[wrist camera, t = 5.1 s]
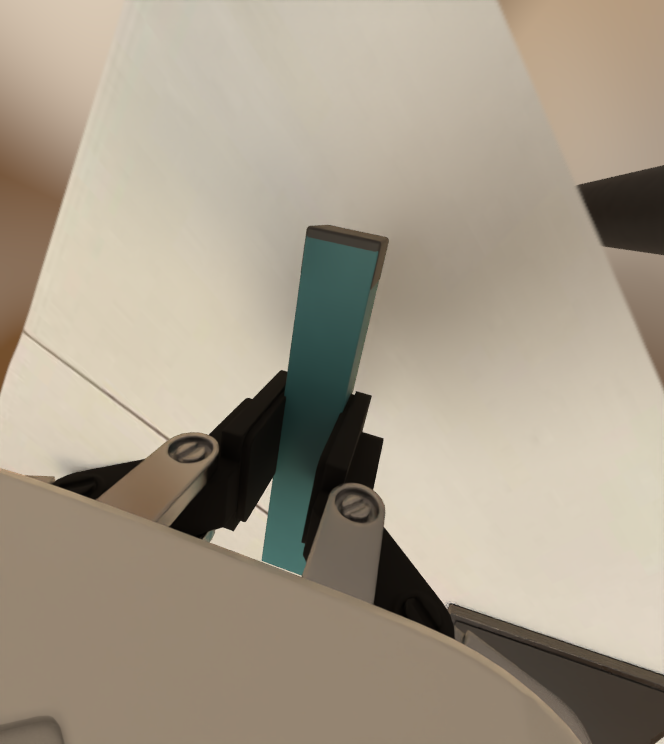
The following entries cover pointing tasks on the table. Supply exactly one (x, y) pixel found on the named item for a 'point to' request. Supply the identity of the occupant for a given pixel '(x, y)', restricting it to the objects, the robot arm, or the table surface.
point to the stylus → (319, 372)
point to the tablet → (580, 680)
